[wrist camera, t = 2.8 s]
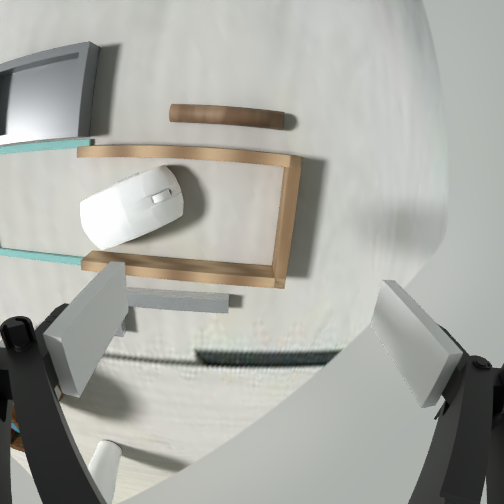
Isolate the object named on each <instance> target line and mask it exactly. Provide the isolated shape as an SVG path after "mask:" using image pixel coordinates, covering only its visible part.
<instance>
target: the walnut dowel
mask: <svg viewBox="0 0 504 504" xmlns="http://www.w3.org/2000/svg"><path fill="white" fill-rule="evenodd" d="M169 119H170V122H193V123H213V124H228V125H240V126H251V127H261V128H270V129H278V130H282V129H283V125H284V112H279V111H271V110H262V109H252V108H241V107H229V106H213V105H190V104H172V105H171V107H170V112H169Z"/></svg>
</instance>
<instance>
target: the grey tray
mask: <svg viewBox="0 0 504 504" xmlns="http://www.w3.org/2000/svg"><path fill="white" fill-rule="evenodd" d="M99 52H100V47H98V46H97V45H95V44H93V43H92V42H90V41H89V42H83V43H78V44H73V45H68V46H63V47H59V48H54V49H50V50H46V51H42V52H38V53H35V54H31V55H28V56H24V57H21V58H18V59H14V60H11V61H8V62H5V63H2V64H0V145H4V144H12V143H20V142H28V141H38V140H48V139H60V138H74V137H89V136H90V122H91V110H92V100H93V92H94V84H95V77H96V70H97V63H98V57H99Z"/></svg>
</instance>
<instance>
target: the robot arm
mask: <svg viewBox="0 0 504 504" xmlns="http://www.w3.org/2000/svg"><path fill="white" fill-rule="evenodd" d="M128 311H129V308H128V298H127V287H126V275H125V262H114V261H111V262H110V263H109V264H108V265H107V266H106V267H105V268H104V269H103V270H102V271H101V272H100V273H99V274H98V275H97V276H96V277H95V278H94V279H93V280H92V281H91V282H90V283H89V284H88V285H87V286H86V287H85V288H84V289H83V290H82V291H81V292H80V293H79V294H78V296H77V297H76V298H75V299H74V300H73V301H72V302H71V303H70V304H66V303H64V304H63V305H61V306H59V307H57V308H55V309H54V311H53V312H52V313H51V314H50V316H48V317H47V318H46V319H45V321H43V322H42V323H41V324H40V326H39V327H38V328H37V329H36V330H35V331H34V328H33V324H32V322H31V320H30V319H29V318H27V317H24V316H16V317H12V318H9V319H7V320H6V321H4V322H3V323H2V324H1V326H0V333H1V336H2V339H3V342H4V345H5V347H6V348H4V347H0V504H12V495H11V479H10V440H11V421H12V409H13V403H14V408H15V413H16V418H17V422H18V427H19V431H20V435H21V439H22V443H23V447H24V450H25V454H26V457H27V460H28V464H29V467H30V470H31V473H32V476H33V479H34V482H35V484H36V487H37V490H38V492H39V495H40V498H41V500H42V502H43V504H107V503H106V501H105V499H104V498H103V496H102V494H101V492H100V491H99V489H98V487H97V485H96V483H95V482H94V480H93V478H92V476H91V474H90V472H89V470H88V468H87V466H86V464H85V462H84V460H83V458H82V456H81V454H80V452H79V449H78V447H77V445H76V443H75V441H74V438H73V436H72V434H71V431H70V429H69V426H68V424H67V421H66V419H65V416H64V414H63V411H62V409H61V406H60V403H59V400H58V397H57V395H56V392H55V390H54V389H55V387H56V386H57V384H58V382H59V385H60V387H61V390H62V392H63V393H64V394H67V395H71V396H75V397H78V398H80V396H81V394H82V392H83V391H84V389H85V387H86V385H87V383H88V381H89V379H90V377H91V376H92V374H93V372H94V370H95V368H96V367H97V365H98V363H99V361H100V359H101V358H102V356H103V354H104V352H105V350H106V349H107V347H108V345H109V344H110V342H111V340H112V338H113V337H114V335H115V333H116V331H117V330H118V328H119V326H120V325H121V323H122V321H123V320H124V318H125V316H126V315H127V313H128ZM370 325H371V327H372V328H373V330H374V332H375V333H376V335H377V336H378V338H379V339H380V341H381V343H382V344H383V346H384V347H385V349H386V350H387V352H388V354H389V355H390V357H391V358H392V360H393V362H394V363H395V365H396V367H397V368H398V370H399V371H400V373H401V375H402V376H403V378H404V380H405V381H406V383H407V385H408V386H409V388H410V390H411V391H412V393H413V395H414V396H415V398H416V400H417V401H418V403H419V405H420V406H421V408H425V407H429V406H434V405H436V403H437V402H438V400H439V398H440V396H441V395H442V396H443V397H444V398H445V402H444V404H443V405H442V407H441V408H440V410H439V412H438V413H437V415H436V416H435V418H434V419H435V420H436V419H437V417H439V418H438V422H437V426H436V429H435V432H434V436H433V439H432V442H431V445H430V449H429V451H428V454H427V457H426V460H425V463H424V466H423V468H422V471H421V474H420V477H419V479H418V481H417V484H416V486H415V489H414V491H413V493H412V496H411V498H410V500H409V503H408V504H480V501H481V496H482V491H483V487H484V482H485V476H486V484H487V504H504V364H503V366H502V368H492V365H491V364H490V362H489V361H487V360H486V359H485V358H482V357H480V356H476V355H475V356H469V354H468V353H467V352H466V351H465V350H464V349H463V348H462V347H461V345H460V344H459V343H458V342H456V340H455V339H454V338H453V337H451V335H450V334H449V332H448V331H447V330H446V329H444V328H443V327H441V326H439V325H438V324H437V323H436V322H435V321H434V320H433V319H432V318H431V317H430V316H429V315H428V314H427V313H426V312H425V311H424V310H423V309H422V308H421V307H420V306H419V305H418V304H417V303H416V301H415V300H413V298H412V297H411V296H410V295H409V294H407V292H406V291H405V290H404V289H403V288H402V287H401V286H400V285H399V284H398V283H397V282H396V281H393V280H382V284H381V288H380V292H379V296H378V299H377V303H376V307H375V310H374V314H373V317H372V320H371V324H370Z"/></svg>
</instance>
